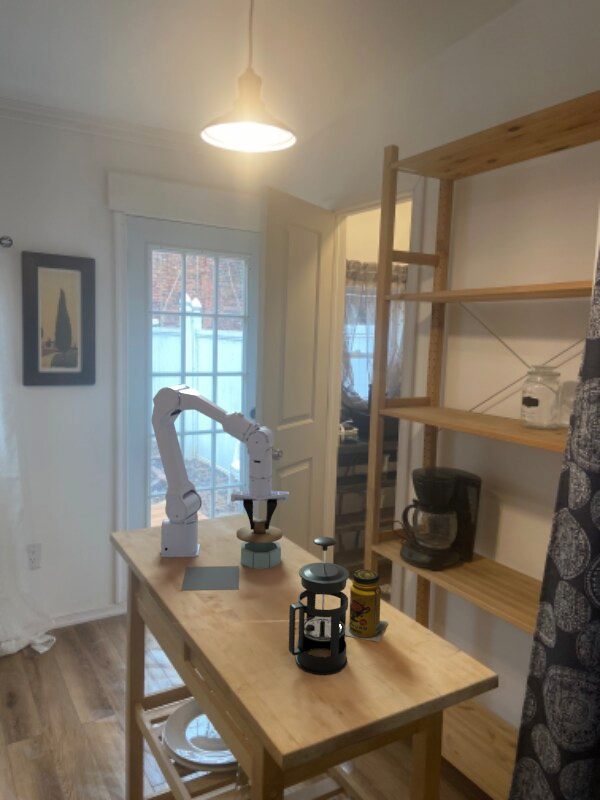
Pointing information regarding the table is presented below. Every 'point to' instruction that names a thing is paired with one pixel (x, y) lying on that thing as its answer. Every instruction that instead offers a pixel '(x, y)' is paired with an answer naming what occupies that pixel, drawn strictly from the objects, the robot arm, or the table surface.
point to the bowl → (260, 554)
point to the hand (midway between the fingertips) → (259, 528)
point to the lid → (259, 533)
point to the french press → (320, 616)
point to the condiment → (365, 607)
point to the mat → (211, 578)
